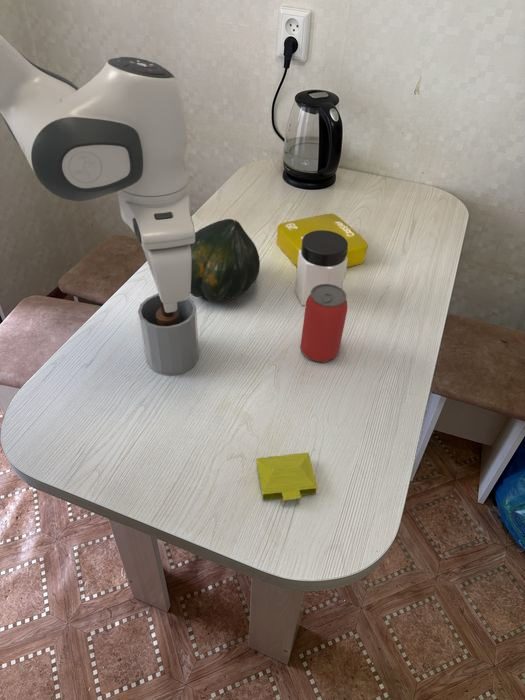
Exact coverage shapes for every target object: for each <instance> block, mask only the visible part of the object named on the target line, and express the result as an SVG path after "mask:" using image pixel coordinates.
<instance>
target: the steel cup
mask: <svg viewBox="0 0 525 700" xmlns="http://www.w3.org/2000/svg"><path fill="white" fill-rule="evenodd" d="M160 308H161V304H160V296H159V293H156V294H153V295H150V296H149V297H146V298H145V300H143V301H142V302H141V303H140V304H139V308H138V309H137V314H138V320H139V328H140V333H141V338H142V344H143V351H144V356H145V361H146V365H147V366H148V367H149V368H150V370H152V371H154V372H155V373H157V374H159V375H164V376H176V375H181V374H184V373H186V372H188V371H190V370H191V369H193V368H194V367H195V366H196V365H197V363H198V360H199V357H200V354H199V353H200V347H199V346H200V345H199V333H198V332H199V330H198V313H197V306H196V304H195V302H194V300H193V299H192V298H190V297H189V298H188V299H187V300H185V301H180V302H177V309H178V310H179V312H180V322H181V323H180V324H177V325H172V326H157V320H156V312H157V310H158V309H160Z"/></svg>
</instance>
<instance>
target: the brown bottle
mask: <svg viewBox="0 0 525 700" xmlns="http://www.w3.org/2000/svg"><path fill="white" fill-rule="evenodd" d="M160 304H161V308H160V309H158V310H157V312H156V320H157V326H172V325H177V324H180V323H181V322H180V312H179V310H178V309H177V310H176V311H175V312H169V313H166V312H165V310H164V307H163V303H162V301H161V299H160Z"/></svg>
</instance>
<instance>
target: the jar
mask: <svg viewBox="0 0 525 700" xmlns="http://www.w3.org/2000/svg"><path fill="white" fill-rule="evenodd" d="M347 251H348V242H347V240H346V239H345V238H344V237H343V236H341V235H340V234H338V233H335V232H332V231H326V230H318V231H312V232H310V233H307V234H306V235H305V236H304V237H303V239H302V247H301V249H300V250H299V255H298V264H297V266H296V274H295V283H294V292H295V295H296V297H297V298H298V299H297V300H298V301H299V303H300V305H301V306H304V307H306V301H307V298H308V297H309V295H310V294H311V290H312V289H313V288H314V287H315V286H317V285H320V284H332V285H335V286H338V287H340V288H341V289H342V290H343V287H344V282H345V277H346V272H347V268H348V267H347V262H348V259H347V257H346V255H347ZM346 267H347V268H346Z"/></svg>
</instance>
